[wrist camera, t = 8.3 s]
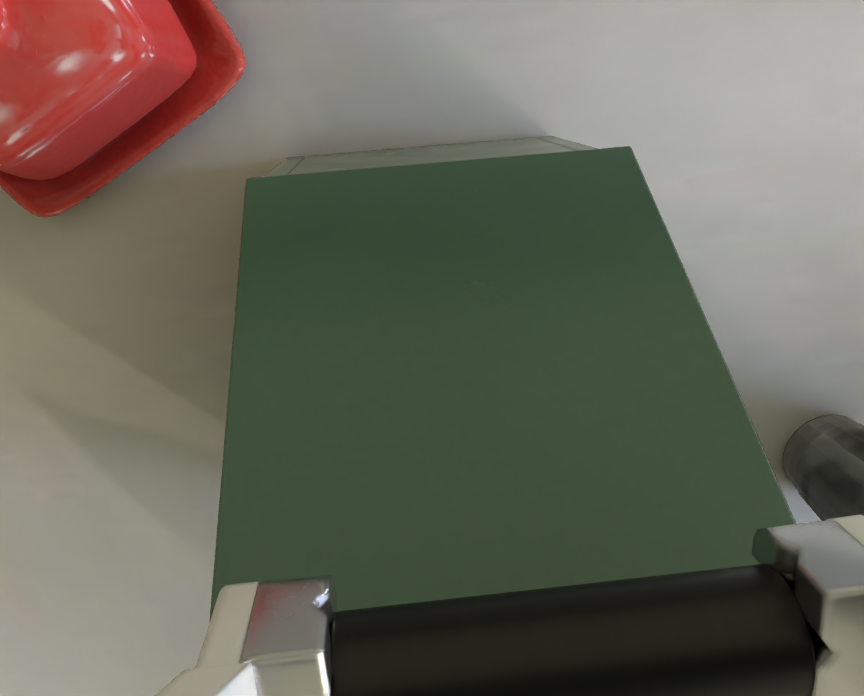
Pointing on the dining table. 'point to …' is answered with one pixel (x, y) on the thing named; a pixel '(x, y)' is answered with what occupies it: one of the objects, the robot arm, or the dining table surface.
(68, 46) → the butter dish
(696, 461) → the green box lid
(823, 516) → the beverage cup
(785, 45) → the dining table surface
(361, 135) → the dining table surface
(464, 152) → the green box
